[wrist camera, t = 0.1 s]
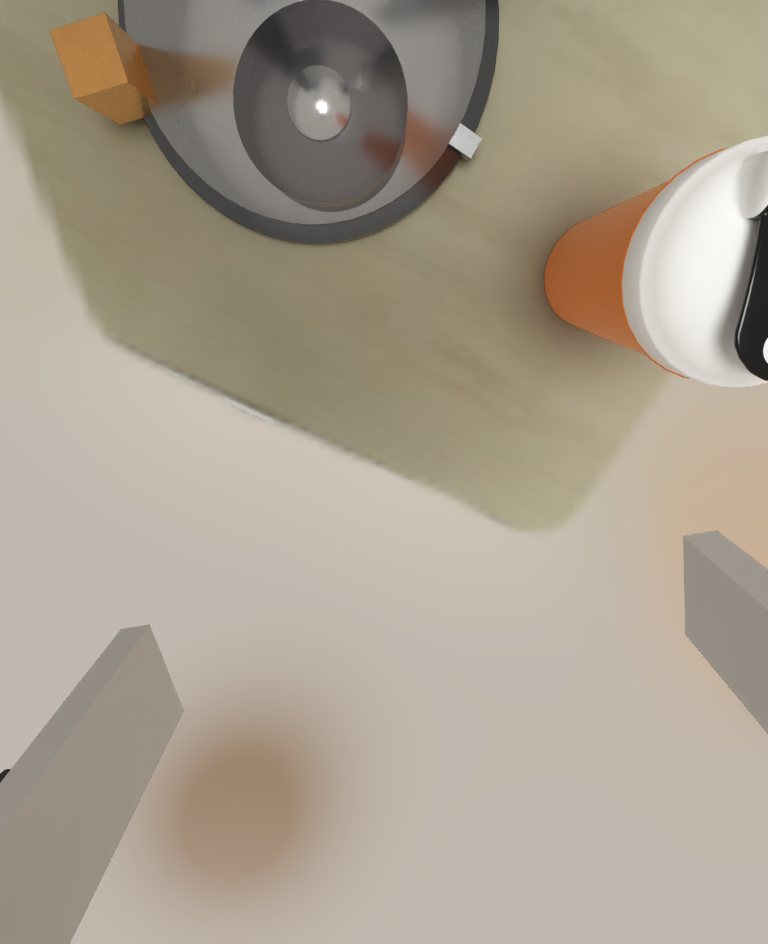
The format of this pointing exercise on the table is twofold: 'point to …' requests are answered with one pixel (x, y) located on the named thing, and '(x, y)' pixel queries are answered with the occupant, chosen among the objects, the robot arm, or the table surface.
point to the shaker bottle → (678, 270)
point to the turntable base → (366, 223)
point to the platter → (213, 72)
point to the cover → (321, 104)
